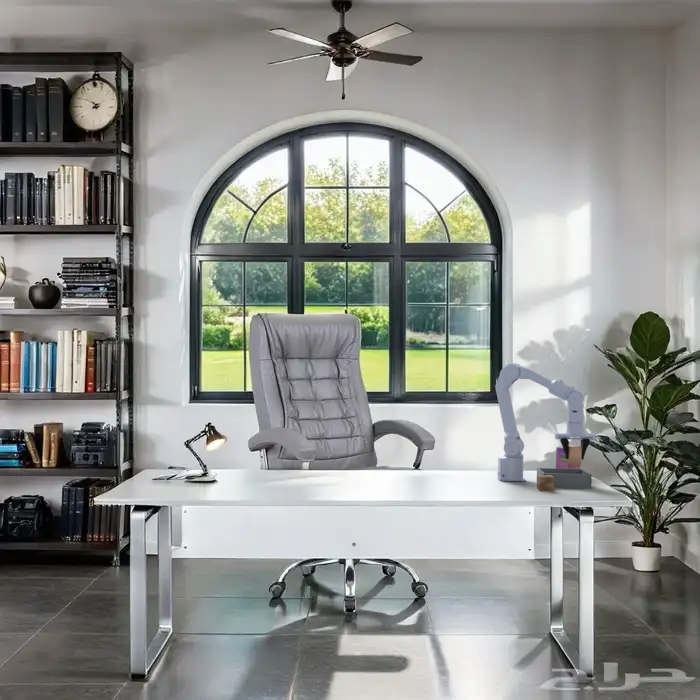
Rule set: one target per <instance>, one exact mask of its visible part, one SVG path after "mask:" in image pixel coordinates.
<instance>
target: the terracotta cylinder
mask: <svg viewBox="0 0 700 700" xmlns="http://www.w3.org/2000/svg"><path fill="white" fill-rule="evenodd" d="M571 445H572V446H569V448H568V456H569V457H568V466H574V467H579V466H580V467H581V466H582V463H583V462H582V461H583V460H582V447H581V445H575V444H571ZM574 445H575V446H574ZM580 467H579V468H580Z"/></svg>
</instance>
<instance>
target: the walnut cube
mask: <svg viewBox="0 0 700 700" xmlns="http://www.w3.org/2000/svg"><path fill="white" fill-rule="evenodd" d="M536 489H537V490H538V491H539V492H554V477H553V476H552V475H537V474H536Z"/></svg>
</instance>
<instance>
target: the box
mask: <svg viewBox="0 0 700 700" xmlns="http://www.w3.org/2000/svg"><path fill="white" fill-rule="evenodd" d="M572 445H574V446H576V445H575V444H569V446H572ZM555 454H556V455H555V468H560V469H580V467H581V466H579V467H574V466H568V459H565V453H564V449H563V446H562V445H560V446H558V447H557V446H556V450H555Z"/></svg>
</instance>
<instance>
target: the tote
mask: <svg viewBox="0 0 700 700" xmlns="http://www.w3.org/2000/svg"><path fill="white" fill-rule="evenodd" d="M537 475H552V476H553V477H554V488H555V487H558V488H559V489H560V488H564V489H567V488H568V489H572V488H573V489H592V474H591V473H590V472H588V471H586V469H583V468H579V469H560V468H556V467H554V468H553V467H552V468H549V467H547V468H546V467H536V476H537Z"/></svg>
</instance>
